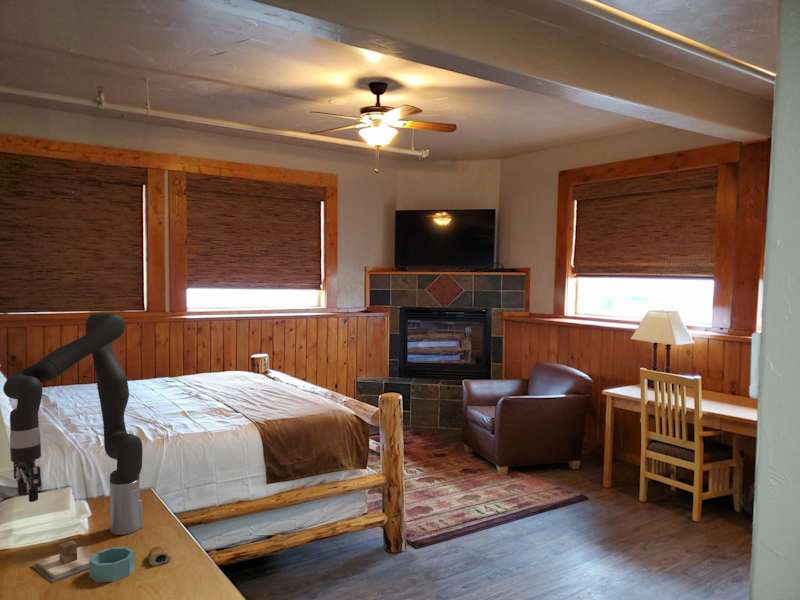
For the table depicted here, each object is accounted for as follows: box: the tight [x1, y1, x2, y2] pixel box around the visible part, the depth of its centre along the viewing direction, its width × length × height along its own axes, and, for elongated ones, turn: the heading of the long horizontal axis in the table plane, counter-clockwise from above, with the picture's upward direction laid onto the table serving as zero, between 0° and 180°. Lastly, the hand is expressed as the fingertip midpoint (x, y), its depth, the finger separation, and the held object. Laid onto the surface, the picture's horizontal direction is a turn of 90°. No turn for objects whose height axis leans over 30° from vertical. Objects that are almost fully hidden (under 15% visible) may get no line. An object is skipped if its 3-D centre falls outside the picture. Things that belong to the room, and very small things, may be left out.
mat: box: [30, 550, 91, 584], centre depth 177 cm, size 15×15×1 cm
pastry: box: [147, 545, 173, 567], centre depth 182 cm, size 9×7×4 cm
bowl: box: [89, 546, 136, 583], centre depth 173 cm, size 11×11×5 cm
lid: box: [35, 540, 95, 579], centre depth 177 cm, size 13×13×6 cm
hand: (28, 497), depth 173 cm, fingers open, 8 cm apart
